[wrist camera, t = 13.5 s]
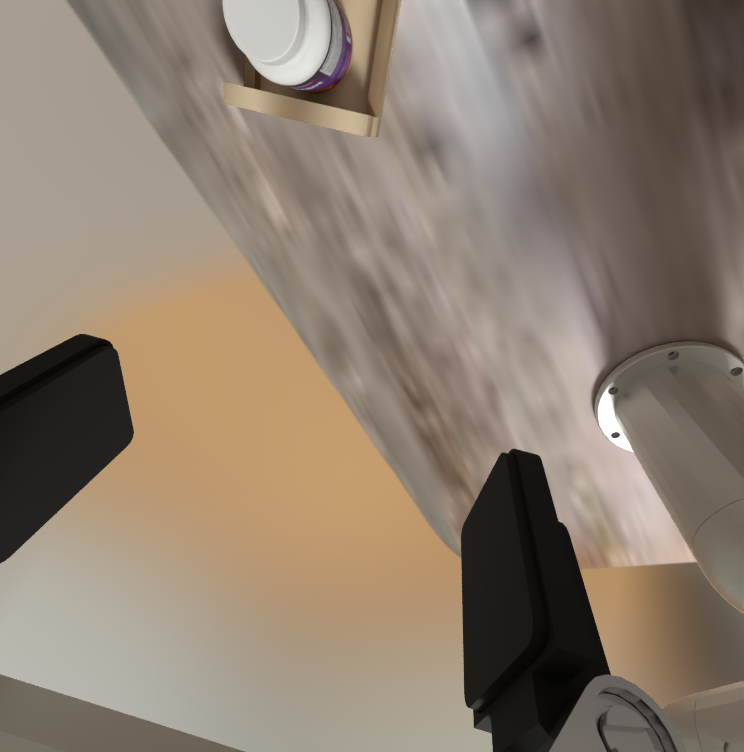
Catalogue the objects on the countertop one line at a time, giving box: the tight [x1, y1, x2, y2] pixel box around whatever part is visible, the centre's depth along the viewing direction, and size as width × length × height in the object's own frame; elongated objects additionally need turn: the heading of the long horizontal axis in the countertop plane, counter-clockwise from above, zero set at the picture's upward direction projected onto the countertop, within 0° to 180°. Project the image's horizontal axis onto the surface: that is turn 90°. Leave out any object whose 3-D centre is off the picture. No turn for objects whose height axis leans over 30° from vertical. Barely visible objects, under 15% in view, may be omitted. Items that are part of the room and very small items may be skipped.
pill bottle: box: [223, 0, 353, 94], centre depth 23 cm, size 5×5×10 cm
